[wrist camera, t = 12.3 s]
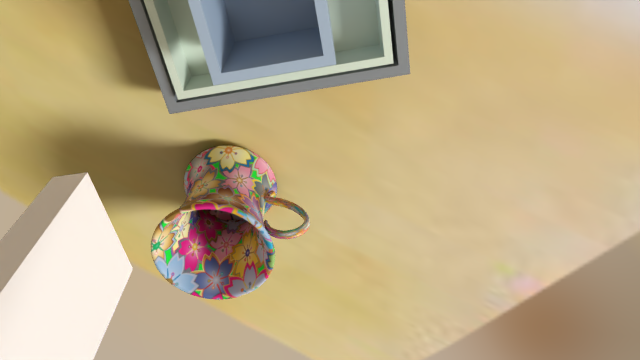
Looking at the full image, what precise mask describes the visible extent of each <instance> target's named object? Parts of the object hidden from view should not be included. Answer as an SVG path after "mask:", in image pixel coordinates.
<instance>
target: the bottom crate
mask: <svg viewBox="0 0 640 360" xmlns="http://www.w3.org/2000/svg"><path fill="white" fill-rule="evenodd" d="M128 1H129V3H130V6H131V9H132V12H133V14H134V17H135V20H136V23H137V25H138V28H139V31H140V34H141V37H142V39H143V42H144V45H145V48H146V50H147V53H148V56H149V59H150V61H151V64H152V67H153V70H154V72H155V75H156V78H157V81H158V83H159V86H160V89H161V92H162V94H163V97H164V100H165V103H166V105H167V108H168V111H169V114H173V113H179V112H185V111H191V110H197V109H203V108H209V107H215V106H221V105H227V104H233V103H239V102H245V101H251V100H257V99H263V98H269V97H275V96H281V95H287V94H293V93H299V92H305V91H311V90H317V89H323V88H329V87H335V86H341V85H347V84H353V83H359V82H365V81H371V80H377V79H383V78H389V77H395V76H401V75H407V74H410V65H409V52H408V39H407V26H406V12H405V0H388V9H389V20H390V30H391V41H392V52H393V62H394V63H393V64H387V65H381V66H375V67H369V68H363V69H358V70H352V71H346V72H340V73H334V74H328V75H322V76H316V77H310V78H304V79H298V80H292V81H286V82H280V83H275V84H269V85H263V86H257V87H251V88H245V89H239V90H233V91H227V92H221V93H215V94H209V95H203V96H198V97H192V98H186V99H180V100H178V98H177V95H176V92H175V89H174V86H173V84H172V81H171V78H170V75H169V72H168V69H167V66H166V63H165V60H164V58H163V55H162V52H161V49H160V46H159V43H158V40H157V37H156V34H155V32H154V29H153V26H152V23H151V20H150V17H149V14H148V11H147V9H146V6H145V3H144V0H128Z"/></svg>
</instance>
